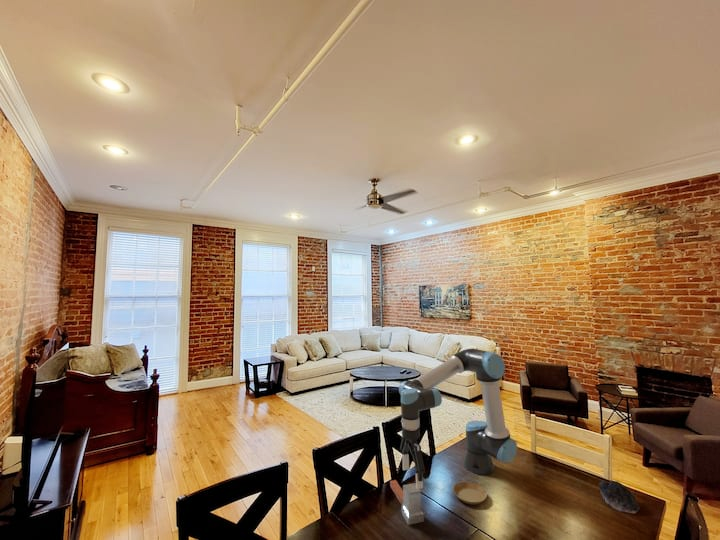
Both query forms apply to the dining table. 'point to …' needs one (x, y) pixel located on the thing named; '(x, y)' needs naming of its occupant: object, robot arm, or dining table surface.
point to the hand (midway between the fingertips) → (412, 478)
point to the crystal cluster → (618, 496)
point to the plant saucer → (469, 492)
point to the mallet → (409, 519)
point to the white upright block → (411, 499)
